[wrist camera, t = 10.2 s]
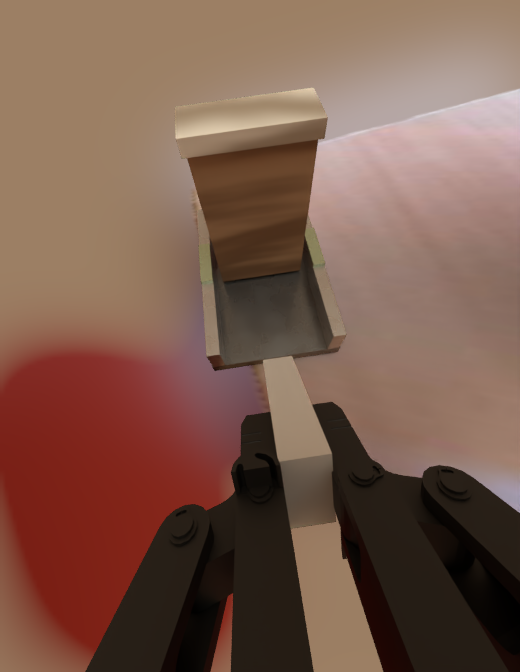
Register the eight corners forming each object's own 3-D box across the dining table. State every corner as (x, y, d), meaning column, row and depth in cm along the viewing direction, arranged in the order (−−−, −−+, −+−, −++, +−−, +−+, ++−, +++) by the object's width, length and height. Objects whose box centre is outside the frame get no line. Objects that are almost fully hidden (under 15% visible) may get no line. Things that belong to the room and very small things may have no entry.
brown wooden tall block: (303, 272, 30) (327, 117, 16) (220, 285, 30) (175, 139, 16) (296, 247, 32) (313, 87, 18) (218, 259, 32) (175, 106, 18)
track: (337, 351, 28) (357, 318, 21) (214, 370, 27) (196, 343, 21) (299, 222, 36) (305, 170, 29) (204, 236, 35) (188, 186, 29)
